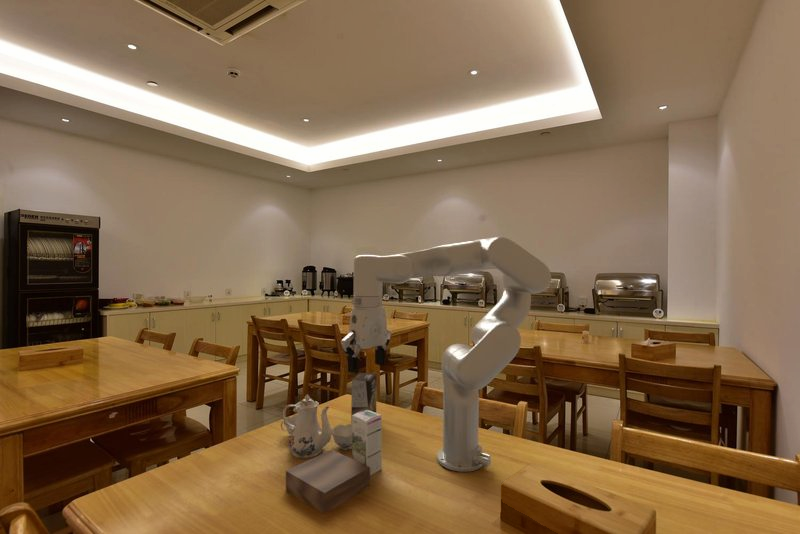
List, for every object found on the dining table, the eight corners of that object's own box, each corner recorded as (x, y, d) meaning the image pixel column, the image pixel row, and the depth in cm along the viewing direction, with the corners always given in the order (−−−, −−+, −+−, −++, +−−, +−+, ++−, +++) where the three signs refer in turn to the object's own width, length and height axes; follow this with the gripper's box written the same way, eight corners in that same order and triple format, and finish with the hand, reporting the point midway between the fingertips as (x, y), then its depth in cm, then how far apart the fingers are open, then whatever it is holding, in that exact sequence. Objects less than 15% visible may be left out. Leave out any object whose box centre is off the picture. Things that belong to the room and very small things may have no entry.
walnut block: (369, 487, 96) (370, 467, 96) (324, 516, 85) (324, 493, 85) (331, 468, 105) (331, 449, 105) (285, 491, 94) (285, 470, 94)
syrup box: (382, 469, 104) (383, 413, 103) (365, 478, 99) (366, 420, 99) (367, 461, 107) (368, 408, 107) (350, 470, 103) (351, 414, 103)
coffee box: (369, 431, 127) (370, 380, 127) (350, 429, 128) (350, 379, 128) (377, 420, 136) (377, 373, 136) (359, 418, 137) (359, 371, 137)
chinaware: (368, 448, 119) (370, 391, 120) (342, 469, 103) (345, 404, 105) (288, 434, 128) (291, 381, 130) (253, 452, 113) (258, 391, 114)
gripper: (353, 306, 94) (352, 378, 94) (400, 301, 107) (399, 364, 107) (332, 303, 99) (331, 372, 99) (380, 299, 112) (379, 360, 112)
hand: (367, 368), depth 103 cm, fingers open, 9 cm apart
